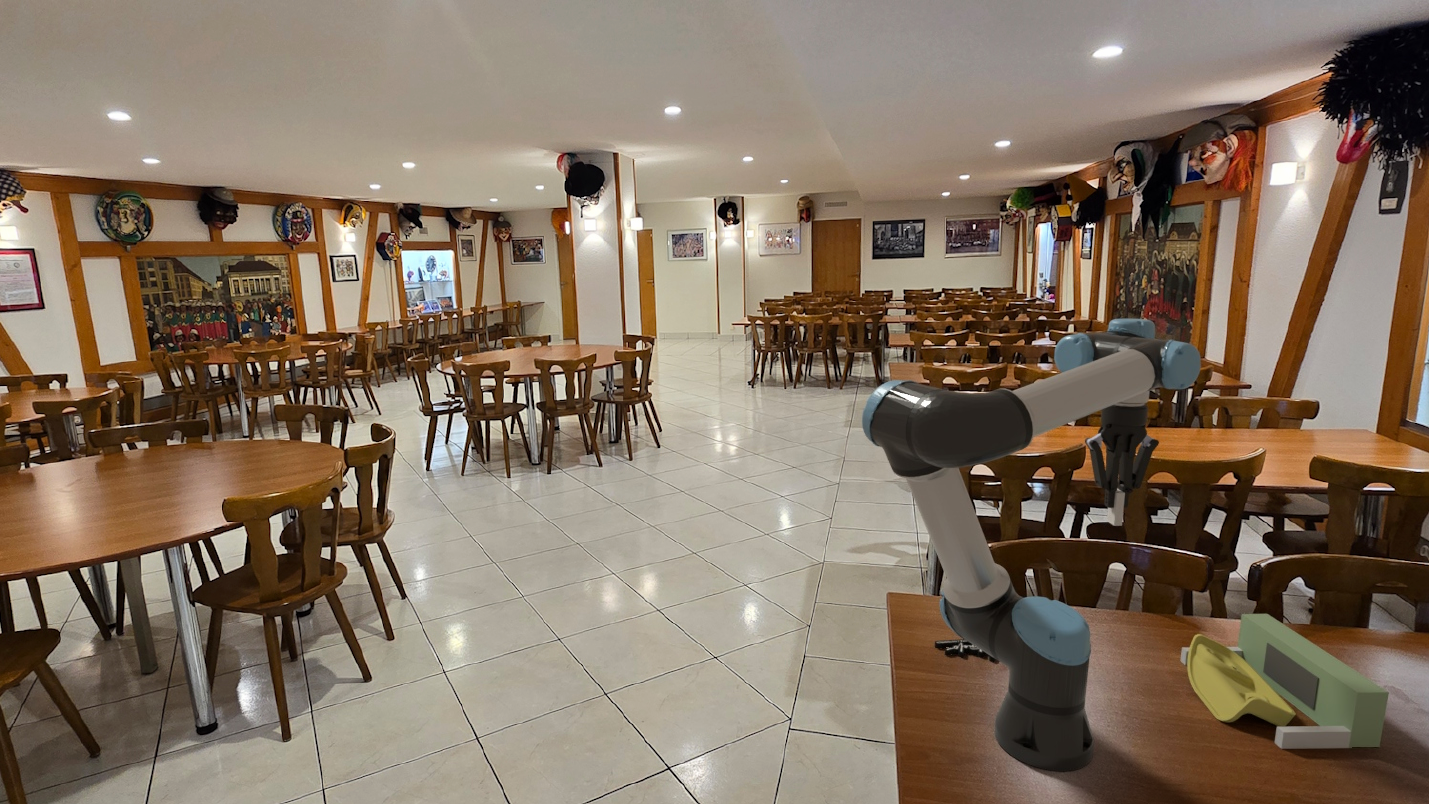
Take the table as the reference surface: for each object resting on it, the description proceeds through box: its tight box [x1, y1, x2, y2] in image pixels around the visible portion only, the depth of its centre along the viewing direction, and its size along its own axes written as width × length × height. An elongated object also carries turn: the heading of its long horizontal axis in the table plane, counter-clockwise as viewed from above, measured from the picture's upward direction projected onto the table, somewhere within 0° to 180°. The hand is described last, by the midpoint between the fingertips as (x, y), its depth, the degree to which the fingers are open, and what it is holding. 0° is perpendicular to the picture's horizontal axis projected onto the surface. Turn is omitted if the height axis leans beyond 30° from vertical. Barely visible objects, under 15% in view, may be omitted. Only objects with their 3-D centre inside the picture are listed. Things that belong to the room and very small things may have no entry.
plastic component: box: [1186, 633, 1296, 727], centre depth 136 cm, size 20×7×10 cm
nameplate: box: [934, 638, 996, 663], centre depth 154 cm, size 28×2×10 cm
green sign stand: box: [1179, 613, 1390, 750], centre depth 134 cm, size 16×27×10 cm, turn 0°
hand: (1114, 523), depth 142 cm, fingers closed
